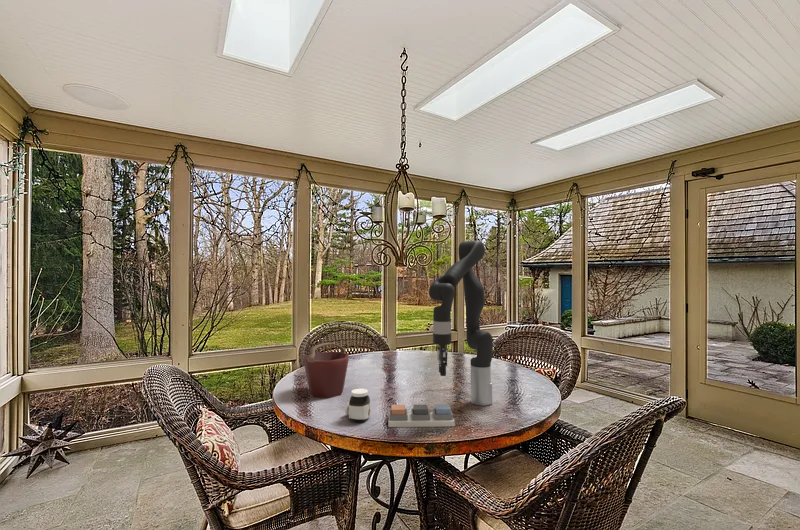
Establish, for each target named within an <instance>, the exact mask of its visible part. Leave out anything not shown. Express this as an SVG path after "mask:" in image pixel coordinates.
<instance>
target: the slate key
mask: <svg viewBox="0 0 800 530" xmlns="http://www.w3.org/2000/svg"><path fill="white" fill-rule="evenodd" d="M434 409H435V411H436V415H444V414H451V411H452V409H451V407H450V404H449V403H448V404H447V403H446V404H445V403H439V404H438V403H437V404H434Z"/></svg>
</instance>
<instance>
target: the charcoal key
mask: <svg viewBox="0 0 800 530" xmlns="http://www.w3.org/2000/svg"><path fill="white" fill-rule="evenodd" d="M412 405H413V406H412V407H413V408H412V409H413V411H414V415H428V409H429V408H428V404H412Z"/></svg>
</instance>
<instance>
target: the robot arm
mask: <svg viewBox="0 0 800 530" xmlns="http://www.w3.org/2000/svg"><path fill="white" fill-rule="evenodd" d="M485 252H486V248H485V245H484V243H483V241H482V240H475V239H474V240H469V241H467V240H466V241H461V242H460V243H459V245H458V258H459V260H458V261H456V262H455V263H454V264H452V265H450V267H449V268H448V269H447V270H446V272H445V273H444V274H443V275H442V276H440V277H439V278H437V279H436V280H434V281H433V282H432V283H431V285H430V287H429V289H428V294H429V295H428V296H429V297H430V298H431V299H432V300H434V301H442V302H441V304H440V305H437V306H434V307H433V312H432V313H433V314H432V315H433V316H432V317H433V322H432V344H434V345H438V346H437V347H436V352H437V363H438V372H439V375H440V376H441V377H446V376H447V366H448V353H449V351H448V348H447V345H451V344H452V323H451V320H452V319H451V317H452V315H451V313H452V312H451V311H452V306H453V302H454V298H455V291H456V290H455V287H457V286H458V284H459V283H460V282H461V280H462V284H463V296H464V297H463V298H464V303H465V304H464V305H465V314H466V315H465V317H466V343H467V345H468V347H469V348H470V349H472V350H474V351H476V356H475V357H474V356H473V357H472V358H471V359H470V403H471V404H472V405H476V406H489V405H493V383H492V372H491V371H492V368H491V367H492V366H491V365H492V360H493V352H494V351H493V348H494V342H493V341H494V340H493V337H492V335H491V333H490V332H489V331H485V330H481V326H480V317H481V314H482V312H483V311H484V310H483V309H484V307H485V303H486V298H485V290H484V289H485V288H484V285H483V284H482V282H481V281H480V280H479V278H478V277H477V275H476V274H475V273H474V270H473V267H475V266H476V264H478V262H480V261H481V260H482V259H483V258H484V256H485Z"/></svg>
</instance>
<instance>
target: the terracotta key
mask: <svg viewBox="0 0 800 530" xmlns="http://www.w3.org/2000/svg"><path fill="white" fill-rule="evenodd" d="M391 409H392V415H406V409H407V408H406V404H391Z"/></svg>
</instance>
